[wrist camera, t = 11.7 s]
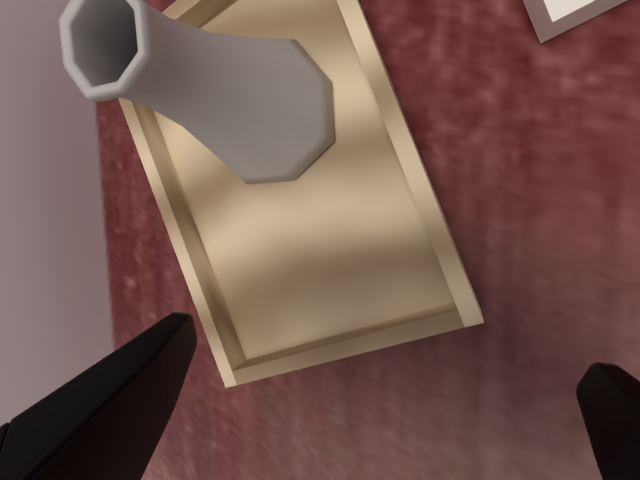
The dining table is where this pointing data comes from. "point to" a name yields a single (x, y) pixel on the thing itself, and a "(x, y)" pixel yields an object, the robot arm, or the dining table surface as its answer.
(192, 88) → the flask
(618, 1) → the white square frame
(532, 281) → the dining table surface
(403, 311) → the serving tray
